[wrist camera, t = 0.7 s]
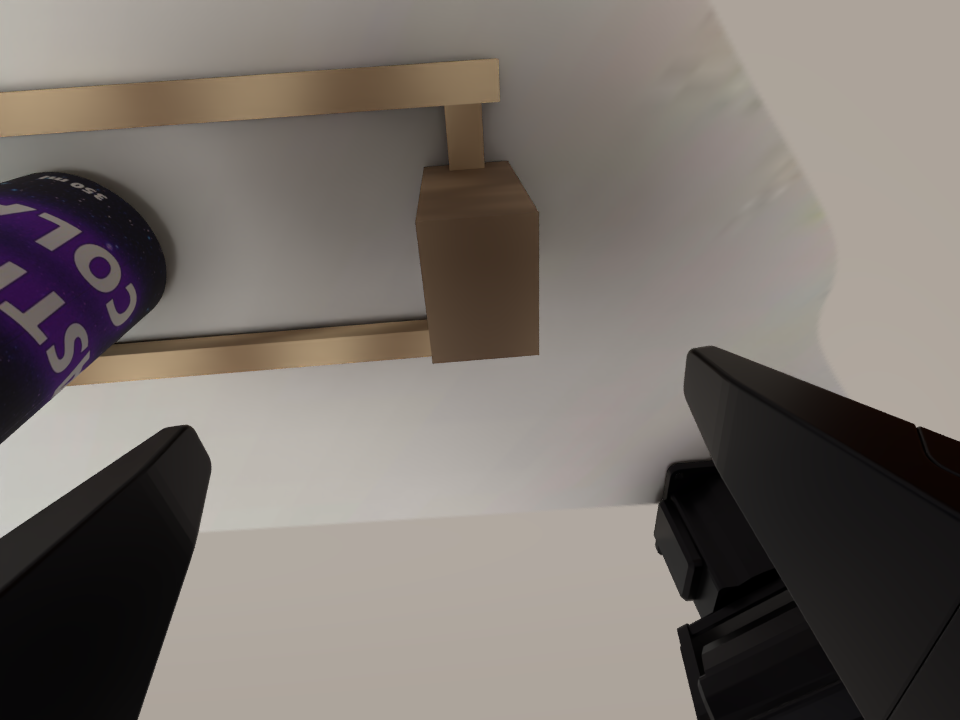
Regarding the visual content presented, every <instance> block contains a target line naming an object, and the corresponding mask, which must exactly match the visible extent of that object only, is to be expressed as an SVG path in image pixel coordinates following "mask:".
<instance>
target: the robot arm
mask: <svg viewBox="0 0 960 720" xmlns="http://www.w3.org/2000/svg"><path fill="white" fill-rule="evenodd" d="M684 395H685V398H686V401H687V403H688V406H689V408H690V410H691V412H692V415H693V417H694V419H695V421H696V424H697V426H698V428H699V431H700V433H701V435H702V437H703V440H704V442H705V444H706V447H707V449H708V451H709V453H710V456H711V458H712V460H713V461H704V462H692V463H681V464H675V465H673V466H671V467H670V468H669V469H668V471H667V476H666V482H665V488H664V494H663V500H661V501H660V503H659V505H658V511H657V518H656V524H655V530H654V537H655V539H656V543H655V546H656V549H657V551H658V553H659V554H660V555H663V557H664V559H665V562H666V564H667V566H668V568H669V571H670V573H671V575H672V578H673V580H674V582H675V585H676V587H677V589H678V591H679V594H680V596H681V597H682V598H683V599H684V600H685V601H694V604H695V606H696V608H697V610H698V612H699V614H700V617H701V619H699V620H697V621H695V622H694V623H692V624H690V625H689V624H685V625H683V626H681V627H679V628H677V632H678V636H679V640H680V644H681V647H680V650H681V653H682V658H683V662H684V666H685V670H686V674H687V678H688V683H689V687H690V691H691V695H692V699H693V703H694V707H695V711H696V716H697V720H960V441H957V440H954V439H951V438H949V437H946V436H944V435H941V434H938V433H936V432H933V431H931V430H928V429H926V428H923V427H917V428H916V426H915V425H914V424H913V423H910V422H908V421H905V420H903V419H900V418H897V417H895V416H892V415H889V414H887V413H885V412H882V411H879V410H877V409H874V408H872V407H869V406H867V405H864V404H861V403H859V402H856V401H854V400H851V399H849V398H846V397H843V396H841V395H838V394H836V393H833V392H831V391H828V390H826V389H823V388H820V387H818V386H815V385H813V384H810V383H808V382H805V381H802V380H800V379H797V378H795V377H792V376H790V375H787V374H784V373H782V372H779V371H777V370H774V369H772V368H769V367H766V366H764V365H761V364H759V363H756V362H754V361H751V360H749V359H746V358H743V357H741V356H738V355H736V354H733V353H731V352H728V351H725V350H723V349H720V348H718V347H715V346H705V347H698V348H693V349H691V350H690V351H689V352H688V354H687V359H686V368H685V377H684ZM678 473H680V474H678ZM676 474H677V475H676ZM210 475H211V461H210V458H209V455H208V454H207V452H206V450H205V448H204V446H203V444H202V442H201V441H200V439H199V437H198V435H197V433H196V431H195V430H194V429H193V428H192V427H191V426H189V425H180V426H173V427H167V428H164V429H162V430H161V431H159V432H158V433H156V434H155V435H153V436H152V437H150V438H149V439H147V440H146V441H144V442H143V443H141V444H140V445H138V446H137V447H135V448H134V449H132V450H131V451H129V452H128V453H126V454H125V455H123V456H122V457H120V458H119V459H117V460H116V461H115V462H113V463H112V464H110V465H109V466H107V467H106V468H104V469H103V470H101V471H100V472H98V473H97V474H95V475H94V476H92V477H91V478H89V479H88V480H86V481H85V482H83V483H82V484H80V485H79V486H77V487H76V488H74V489H73V490H71V491H70V492H68V493H67V494H66V495H64V496H63V497H61V498H60V499H58V500H57V501H55V502H54V503H52V504H51V505H49V506H48V507H46V508H45V509H43V510H42V511H40V512H39V513H37V514H36V515H34V516H33V517H31V518H30V519H28V520H27V521H25V522H24V523H22V524H21V525H19V526H18V527H16V528H15V529H14V530H12V531H11V532H9V533H8V534H6V535H5V536H3V537H2V538H0V720H138V717H139V714H140V711H141V708H142V705H143V702H144V699H145V696H146V693H147V690H148V687H149V684H150V681H151V678H152V675H153V672H154V669H155V666H156V663H157V660H158V657H159V654H160V651H161V648H162V645H163V642H164V639H165V636H166V633H167V630H168V627H169V624H170V621H171V618H172V615H173V612H174V609H175V606H176V603H177V600H178V597H179V594H180V591H181V588H182V585H183V582H184V579H185V576H186V573H187V570H188V567H189V564H190V561H191V557H192V554H193V551H194V548H195V544H196V540H197V536H198V532H199V527H200V522H201V517H202V513H203V508H204V503H205V498H206V494H207V489H208V484H209V480H210Z"/></svg>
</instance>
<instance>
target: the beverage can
mask: <svg viewBox="0 0 960 720" xmlns="http://www.w3.org/2000/svg"><path fill="white" fill-rule="evenodd" d="M165 284H166V264H165V259H164V255H163V252H162V249H161V246H160V244H159V242H158V240H157V238H156V236H155V234H154V233H153V231H152V230H151V228H150V227H149V225H148V224H147V223H146V221H145V220H144V219H143V218H142V217H141V215H140V214H139V213H138V212H137V211H136V210H135V209H134V208H133V207H132V206H130V205H129V204H128V203H127V202H126V201H125V200H123V199H122V198H121V197H119V196H118V195H116V194H115V193H113V192H112V191H110V190H109V189H107V188H105V187H103V186H101V185H99V184H97V183H95V182H93V181H90V180H88V179H85V178H82V177H79V176H75V175H71V174H65V173H58V172H42V173H34V174H30V175H26V176H23V177H20V178H16V179H13V180H9V181H6V182H3V183H0V444H1V443H2V442H3V441H5V440H6V439H7V438H8V437H9V436H10V435H11V434H12V433H14V432H15V431H16V430H17V429H18V428H19V427H20V426H21V425H23V424H24V423H25V422H26V421H27V420H28V419H29V418H31V417H32V416H33V415H34V414H35V413H36V412H37V411H38V410H40V409H41V408H42V407H43V406H44V405H45V404H46V403H47V402H49V401H50V400H51V399H52V398H53V397H54V396H55V395H56V394H58V393H59V392H60V391H61V390H62V389H63V388H64V387H65V386H67V385H68V384H69V383H70V382H71V381H72V380H73V379H75V378H76V377H77V376H78V375H79V374H80V373H81V372H82V371H84V370H85V369H86V368H87V367H88V366H89V365H90V364H91V363H93V362H94V361H95V360H96V359H97V358H98V357H99V356H100V355H102V354H103V353H104V352H105V351H106V350H107V349H108V348H109V347H111V346H112V345H113V344H114V343H115V342H116V341H117V340H119V339H120V338H121V337H122V336H123V335H124V334H125V333H126V332H128V331H129V330H130V329H131V328H132V327H133V326H134V325H135V324H137V323H138V322H139V321H140V320H141V319H142V318H143V317H144V316H146V315H147V314H148V313H149V312H150V311H151V310H152V309H153V308H154V307H155V306H156V305H157V303H158V302H159V300H160V299H161V297H162V294H163V292H164V289H165Z"/></svg>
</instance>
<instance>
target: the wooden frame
mask: <svg viewBox="0 0 960 720" xmlns="http://www.w3.org/2000/svg"><path fill="white" fill-rule="evenodd" d="M489 102H500V89H499V61H498V59H497V58H494V59H479V60H465V61H450V62H436V63H421V64H407V65H392V66H377V67H363V68H348V69H334V70H319V71H304V72H290V73H275V74H261V75H246V76H232V77H217V78H202V79H188V80H173V81H159V82H144V83H130V84H115V85H100V86H86V87H71V88H57V89H42V90H28V91H13V92H0V137H7V136H21V135H35V134H49V133H63V132H78V131H92V130H106V129H120V128H134V127H148V126H163V125H177V124H191V123H205V122H219V121H233V120H248V119H262V118H276V117H290V116H304V115H318V114H333V113H347V112H361V111H375V110H389V109H403V108H418V107H432V106H444V110H445V122H446V134H447V146H448V158H449V165H445V166H431V167H424V171H423V177H422V183H421V189H420V196H419V202H418V208H417V214H416V220H415V224H416V232H417V240H418V248H419V256H420V264H421V273H422V281H423V289H424V297H425V305H426V313H427V319H426V320H414V321H401V322H389V323H376V324H364V325H351V326H339V327H327V328H314V329H302V330H289V331H277V332H264V333H252V334H239V335H227V336H214V337H202V338H189V339H177V340H164V341H152V342H139V343H127V344H114V345H112V346H111V347H109V348H108V349H107V350H106V351H105V352H104V353H103V354H102V355H100V356H99V357H98V358H97V359H96V360H95V361H94V362H93V363H91V364H90V365H89V366H88V367H87V368H86V369H85V370H84V371H82V372H81V373H80V374H79V375H78V376H77V377H76V378H75V379H73V380H72V381H71V382H70V383H69V384H68V385H67V386H74V385H87V384H99V383H111V382H123V381H136V380H148V379H160V378H172V377H185V376H197V375H209V374H221V373H233V372H246V371H258V370H270V369H282V368H295V367H307V366H319V365H331V364H344V363H356V362H368V361H380V360H392V359H405V358H417V357H429V356H432V362H433V364H434V363H446V362H458V361H470V360H483V359H495V358H507V357H519V356H531V355H539V212H538V210H537V209H536V207H535V205H534V204H533V202H532V200H531V199H530V197H529V195H528V194H527V192H526V190H525V189H524V187H523V185H522V184H521V182H520V180H519V179H518V177H517V175H516V174H515V172H514V170H513V169H512V167H511V165H510V164H509V162H508V161H500V162H486V163H484V145H483V125H482V106H481V103H489Z"/></svg>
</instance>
